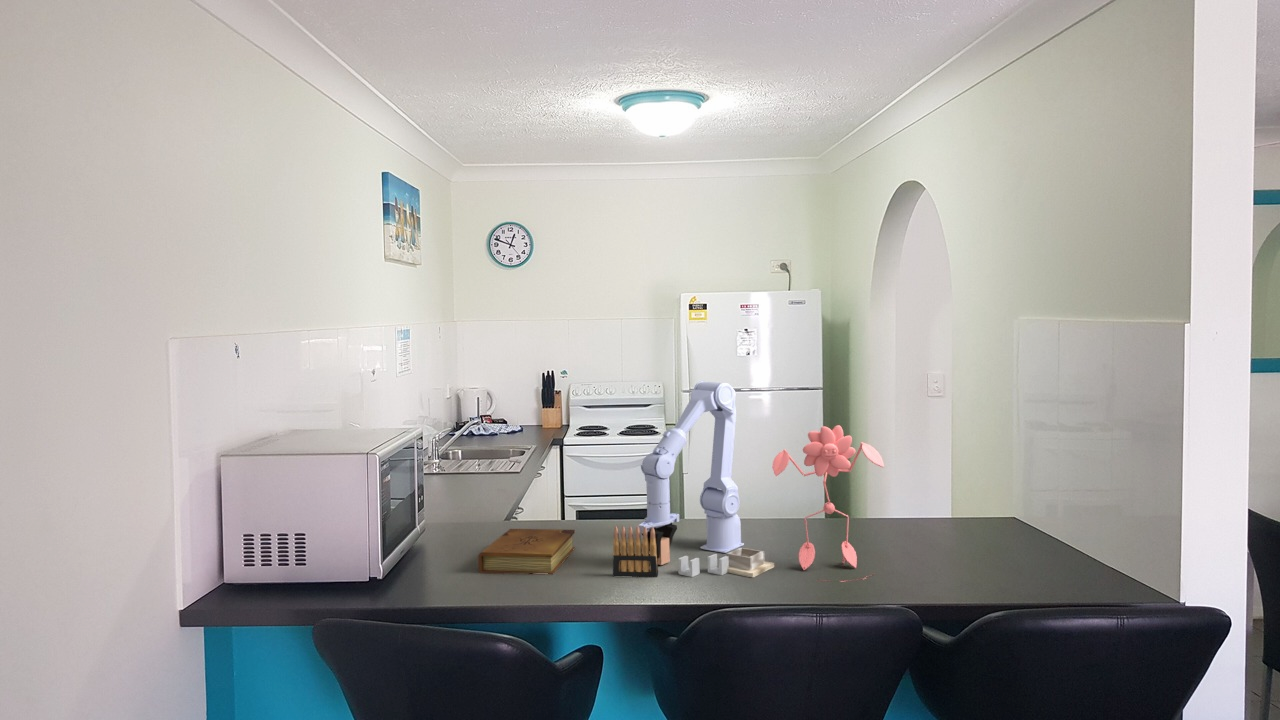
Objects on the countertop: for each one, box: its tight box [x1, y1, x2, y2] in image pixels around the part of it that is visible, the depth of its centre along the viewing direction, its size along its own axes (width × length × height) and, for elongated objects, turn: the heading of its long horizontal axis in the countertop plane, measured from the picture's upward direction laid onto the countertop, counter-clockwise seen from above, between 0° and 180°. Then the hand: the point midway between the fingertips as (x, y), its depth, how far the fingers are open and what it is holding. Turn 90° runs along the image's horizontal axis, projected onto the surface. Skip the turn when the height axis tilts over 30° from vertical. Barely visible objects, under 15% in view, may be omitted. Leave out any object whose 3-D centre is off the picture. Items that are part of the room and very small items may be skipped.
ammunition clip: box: [612, 525, 659, 578], centre depth 204 cm, size 11×2×12 cm, turn 82°
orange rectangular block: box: [657, 537, 671, 566], centre depth 213 cm, size 4×4×6 cm
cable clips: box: [677, 553, 729, 578], centre depth 205 cm, size 8×9×4 cm
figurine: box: [772, 425, 885, 583], centre depth 202 cm, size 15×26×35 cm, turn 90°
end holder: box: [717, 546, 775, 578], centre depth 207 cm, size 10×10×4 cm
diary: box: [477, 528, 576, 575], centre depth 219 cm, size 23×19×6 cm
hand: (659, 555), depth 213 cm, fingers closed on orange rectangular block, 3 cm apart
